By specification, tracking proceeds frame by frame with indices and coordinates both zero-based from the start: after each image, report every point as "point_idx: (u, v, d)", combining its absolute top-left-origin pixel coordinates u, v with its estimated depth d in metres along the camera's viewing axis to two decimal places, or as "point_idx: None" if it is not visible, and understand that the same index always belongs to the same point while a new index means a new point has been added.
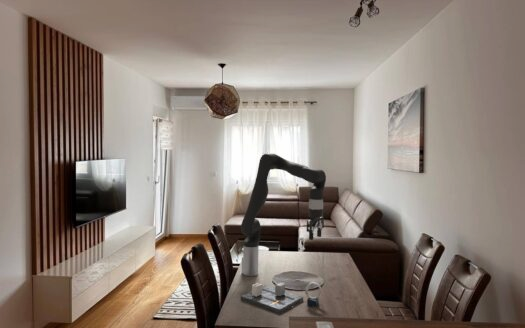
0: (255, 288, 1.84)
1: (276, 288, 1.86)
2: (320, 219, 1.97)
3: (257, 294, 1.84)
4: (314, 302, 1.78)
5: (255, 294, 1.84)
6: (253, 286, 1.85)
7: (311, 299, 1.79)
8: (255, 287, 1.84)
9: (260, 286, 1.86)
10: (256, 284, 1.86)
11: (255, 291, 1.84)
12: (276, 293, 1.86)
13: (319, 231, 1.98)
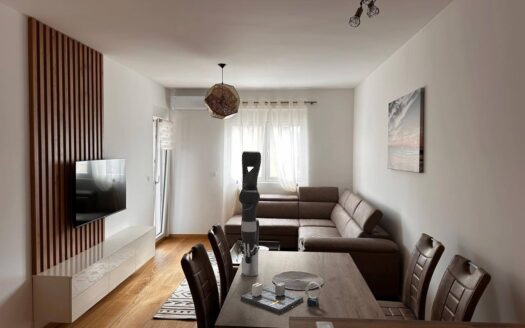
0: (255, 288, 1.84)
1: (276, 288, 1.86)
2: None
3: (257, 294, 1.84)
4: (314, 302, 1.78)
5: (255, 294, 1.84)
6: (253, 286, 1.85)
7: (311, 299, 1.79)
8: (255, 287, 1.84)
9: (260, 286, 1.86)
10: (256, 284, 1.86)
11: (255, 291, 1.84)
12: (276, 293, 1.86)
13: None
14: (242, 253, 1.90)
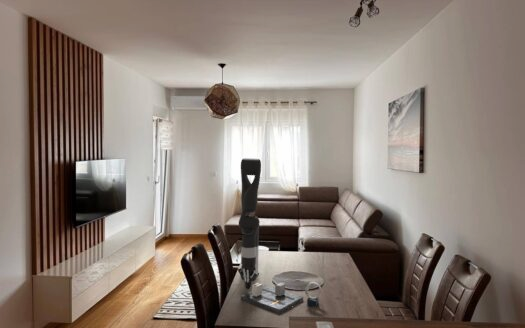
0: (255, 288, 1.84)
1: (276, 288, 1.86)
2: None
3: (257, 294, 1.84)
4: (314, 302, 1.78)
5: (255, 294, 1.84)
6: (253, 286, 1.85)
7: (311, 299, 1.79)
8: (255, 287, 1.84)
9: (260, 286, 1.86)
10: (256, 284, 1.86)
11: (255, 291, 1.84)
12: (276, 293, 1.86)
13: None
14: (242, 279, 1.91)
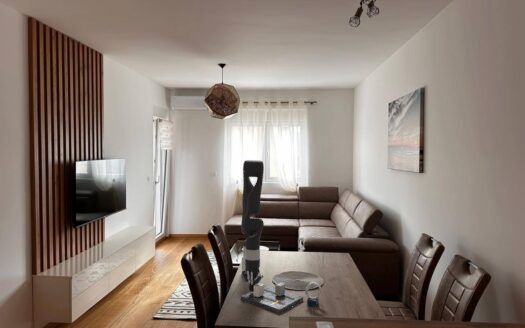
0: (257, 289, 1.83)
1: (276, 288, 1.86)
2: None
3: (259, 295, 1.83)
4: (314, 302, 1.78)
5: (257, 295, 1.83)
6: (255, 287, 1.84)
7: (311, 299, 1.79)
8: (257, 288, 1.83)
9: (262, 287, 1.85)
10: (258, 285, 1.86)
11: (257, 292, 1.83)
12: (276, 293, 1.86)
13: None
14: (246, 281, 1.89)
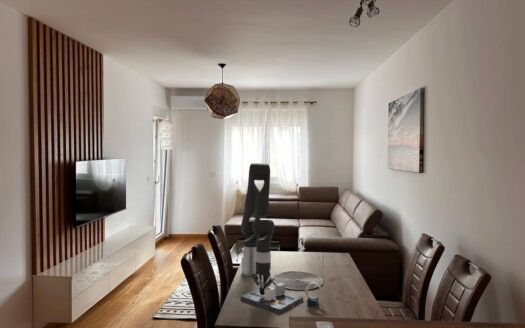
0: (267, 292, 1.79)
1: (276, 288, 1.86)
2: None
3: (270, 298, 1.79)
4: (314, 302, 1.78)
5: (268, 298, 1.79)
6: (266, 290, 1.80)
7: (311, 299, 1.79)
8: (268, 291, 1.79)
9: (273, 290, 1.81)
10: (269, 288, 1.81)
11: (268, 295, 1.79)
12: (276, 293, 1.86)
13: None
14: (256, 284, 1.85)
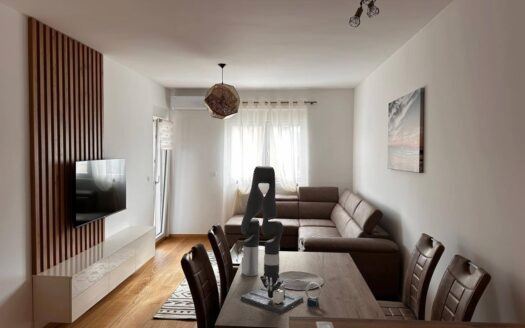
0: (276, 295, 1.76)
1: None
2: None
3: (279, 301, 1.76)
4: (314, 302, 1.78)
5: (276, 301, 1.76)
6: (274, 293, 1.77)
7: (311, 299, 1.79)
8: (276, 294, 1.76)
9: (281, 293, 1.78)
10: (277, 291, 1.78)
11: (276, 298, 1.76)
12: None
13: None
14: None
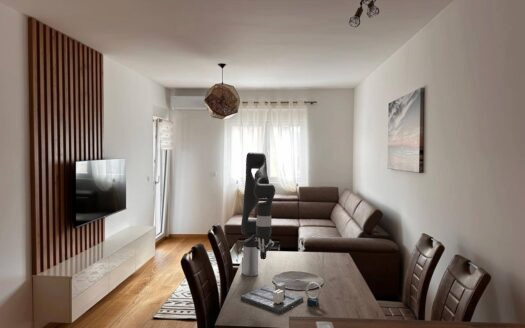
0: (276, 295, 1.76)
1: (276, 288, 1.86)
2: None
3: (279, 301, 1.76)
4: (314, 302, 1.78)
5: (276, 301, 1.76)
6: (274, 293, 1.77)
7: (311, 299, 1.79)
8: (276, 294, 1.76)
9: (282, 293, 1.78)
10: (277, 291, 1.78)
11: (276, 298, 1.76)
12: None
13: None
14: (257, 248, 1.85)
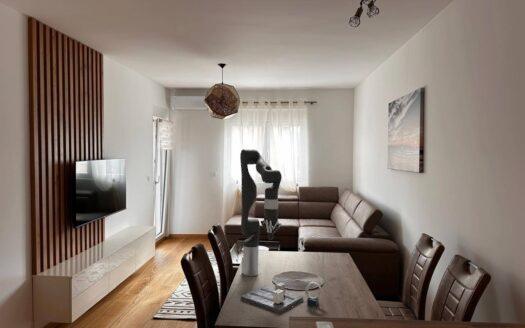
0: (276, 295, 1.76)
1: (276, 288, 1.86)
2: None
3: (279, 301, 1.76)
4: (314, 302, 1.78)
5: (276, 301, 1.76)
6: (274, 293, 1.77)
7: (311, 299, 1.79)
8: (276, 294, 1.76)
9: (282, 293, 1.78)
10: (277, 291, 1.78)
11: (276, 298, 1.76)
12: None
13: None
14: (265, 230, 2.00)
